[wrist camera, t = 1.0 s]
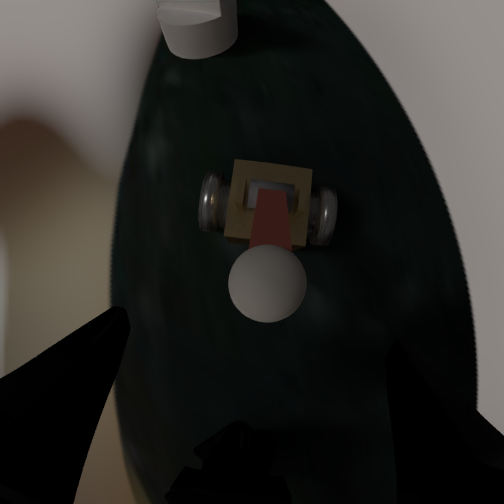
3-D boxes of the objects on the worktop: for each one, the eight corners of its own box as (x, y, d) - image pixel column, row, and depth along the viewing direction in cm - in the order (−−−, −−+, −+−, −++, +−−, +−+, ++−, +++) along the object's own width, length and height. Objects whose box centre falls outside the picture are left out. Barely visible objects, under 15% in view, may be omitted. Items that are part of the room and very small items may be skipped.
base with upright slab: (154, 51, 27) (125, -15, 15) (192, 13, 28) (178, -50, 16) (214, 66, 27) (200, -12, 15) (250, 25, 27) (249, -46, 15)
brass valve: (318, 253, 26) (344, 247, 18) (205, 239, 26) (186, 227, 18) (324, 190, 26) (349, 163, 18) (215, 176, 26) (201, 143, 18)
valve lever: (288, 212, 21) (299, 342, 10) (248, 207, 21) (221, 333, 10) (294, 174, 19) (319, 280, 9) (252, 168, 19) (225, 268, 9)
